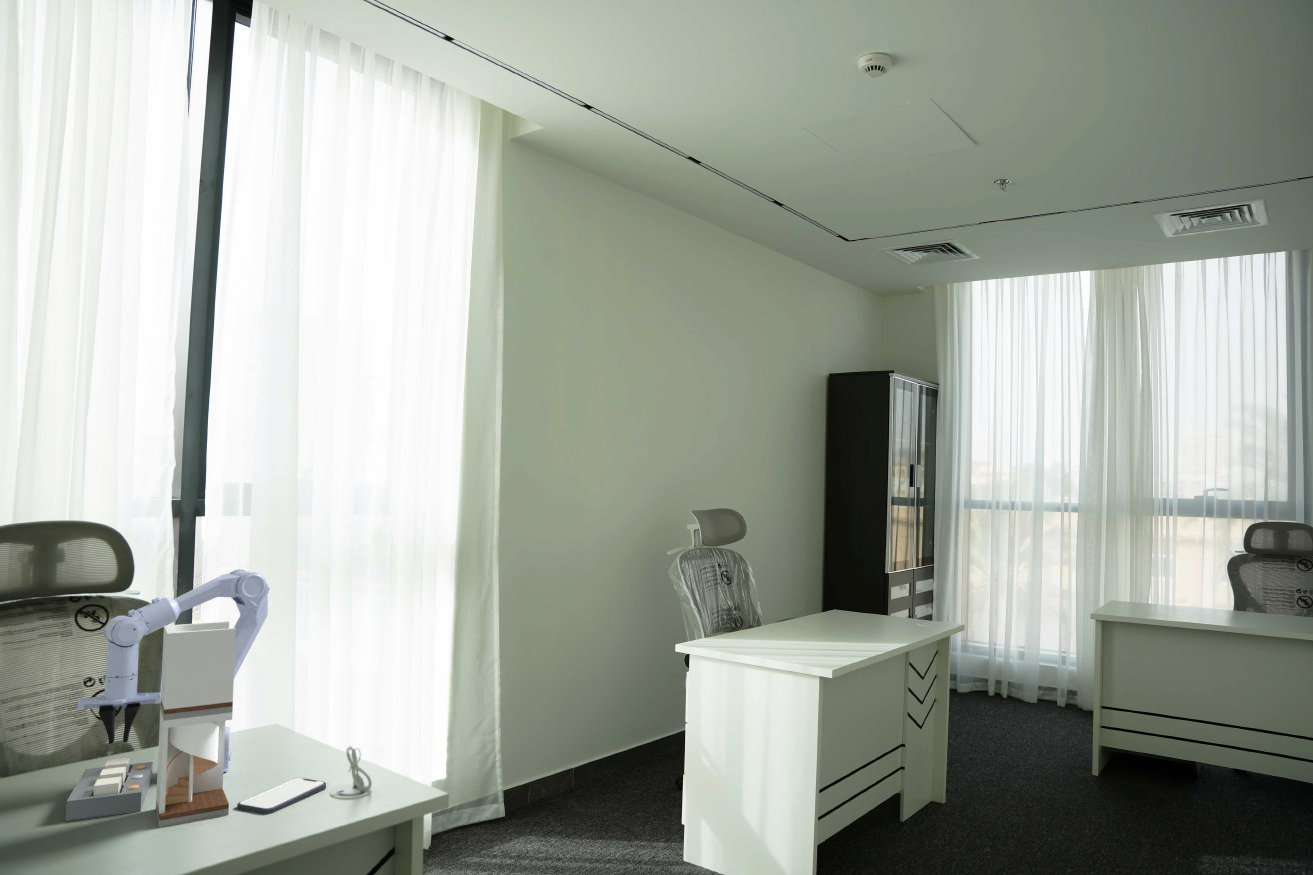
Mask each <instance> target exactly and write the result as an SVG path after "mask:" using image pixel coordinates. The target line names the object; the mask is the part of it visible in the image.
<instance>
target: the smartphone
mask: <svg viewBox="0 0 1313 875" xmlns="http://www.w3.org/2000/svg"><path fill="white" fill-rule="evenodd" d="M326 788H327V782H326V781H323V780H316V779H310V778H305V777H295V778H292V779H289V780H288V781H285V782H282V783H280V784H278V785H275V786H274V787H272V788H271V787H270V788H269V789H266V790H264V791H262V792H260V793H257V794H255V795H253V796H251V797H248V798H246V799H244V800H241V801H239V802H238V803H237V805H236V806H237V810H239V811H244V812H250V813H255V814H259V815H272V814H274V813H276V812H278V811H282V810H283V809H285V808H288V807H290V806H292V805H294V804H297V803H298V802H301V801H303V800H305V799H307V798H310V797H312V796H314V795H316V794H318V793H320V792H323V791H325V790H326Z"/></svg>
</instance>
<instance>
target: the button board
mask: <svg viewBox="0 0 1313 875" xmlns="http://www.w3.org/2000/svg"><path fill="white" fill-rule="evenodd" d="M103 769H105V766H102V767H94V768H85V770H84V771H83V773H82V774H81V777H80V778H79V779H78V782H77V783H76V785H75V787H74V788H73V789H72V792H71V793H70V795H69V796H68V798H67V800H66V804H65V805H66V807H65V808H66V809H65V822H68V821H77V820H78V821H79V820H85V819H92V818H101V817H108V816H115V815H123V814H129V813H138V812H141V811H142V809H143V806H144V803H145V800H146V797H147V794H148V791H149V790H150V785H151V784H152V780H153V761H147V762H139V763H138V762H136V763H130V772H129V773H126V779H125V782H124V783H121V793H117V794H109V795H101V796H93V795H94V785H95V783H96V781H97V779H99V776H100V774H101V772H102V770H103Z"/></svg>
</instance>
